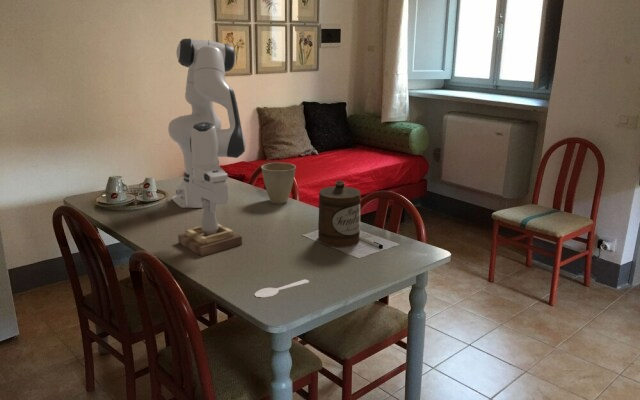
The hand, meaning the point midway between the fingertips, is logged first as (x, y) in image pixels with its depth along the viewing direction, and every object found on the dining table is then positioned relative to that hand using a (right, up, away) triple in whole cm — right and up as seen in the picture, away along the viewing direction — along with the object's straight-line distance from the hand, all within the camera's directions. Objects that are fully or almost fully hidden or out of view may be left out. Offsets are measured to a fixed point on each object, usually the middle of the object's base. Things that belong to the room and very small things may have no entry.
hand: (208, 210), depth 182 cm
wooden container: (+45, -11, +8) cm, 47 cm away
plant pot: (+20, +3, +52) cm, 56 cm away
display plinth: (0, -12, +4) cm, 12 cm away
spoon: (+28, -23, -29) cm, 46 cm away
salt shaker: (0, -9, +3) cm, 9 cm away
